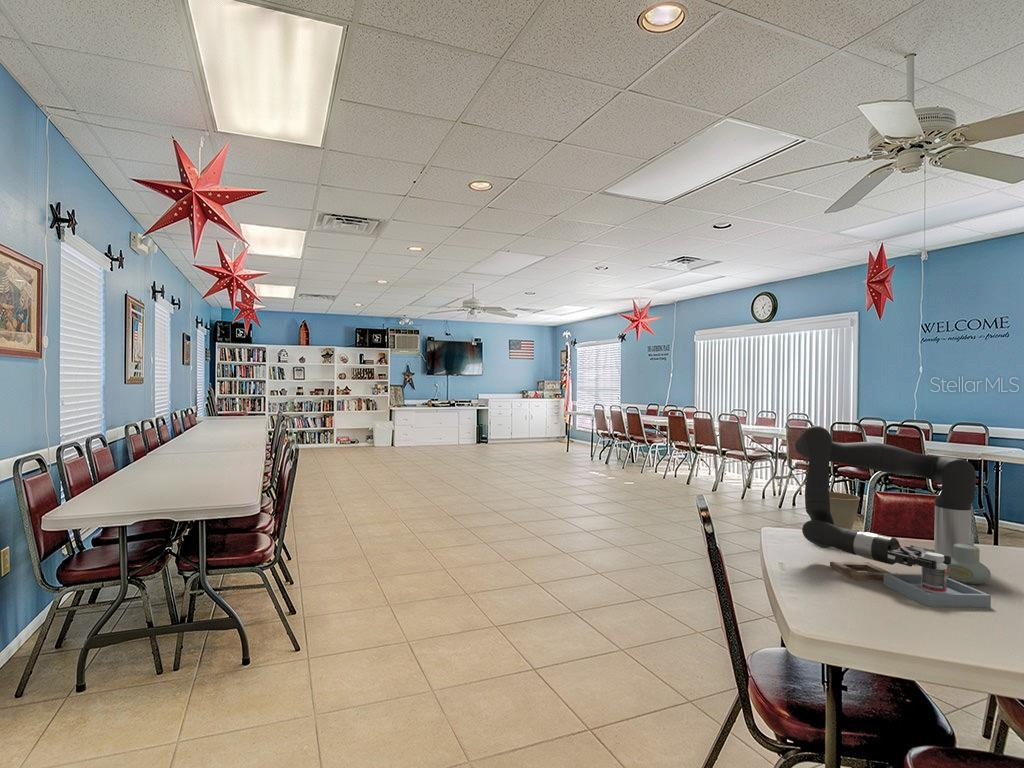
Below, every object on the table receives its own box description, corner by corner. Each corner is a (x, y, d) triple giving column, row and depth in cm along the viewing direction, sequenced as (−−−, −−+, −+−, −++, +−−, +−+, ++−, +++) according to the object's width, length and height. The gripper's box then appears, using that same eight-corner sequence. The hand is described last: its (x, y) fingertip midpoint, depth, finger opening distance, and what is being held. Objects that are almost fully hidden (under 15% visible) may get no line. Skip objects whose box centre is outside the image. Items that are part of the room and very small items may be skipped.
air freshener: (995, 584, 157) (996, 549, 157) (983, 589, 153) (983, 552, 153) (949, 573, 166) (950, 539, 166) (936, 577, 162) (937, 543, 162)
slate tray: (939, 585, 155) (939, 574, 155) (990, 607, 139) (990, 595, 139) (883, 584, 155) (883, 573, 155) (928, 606, 139) (928, 594, 139)
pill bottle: (950, 596, 143) (951, 558, 144) (925, 593, 145) (926, 555, 145) (941, 589, 149) (942, 552, 149) (917, 586, 150) (918, 550, 150)
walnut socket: (868, 567, 170) (868, 562, 170) (896, 580, 158) (896, 575, 158) (829, 566, 169) (829, 561, 169) (855, 580, 157) (855, 574, 157)
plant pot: (804, 536, 205) (805, 493, 206) (823, 531, 214) (823, 490, 215) (848, 546, 194) (849, 500, 194) (866, 540, 203) (866, 496, 203)
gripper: (863, 537, 155) (931, 552, 142) (888, 531, 163) (955, 545, 149) (863, 563, 155) (931, 581, 141) (888, 557, 163) (954, 573, 149)
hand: (943, 563), depth 145 cm, fingers open, 8 cm apart
